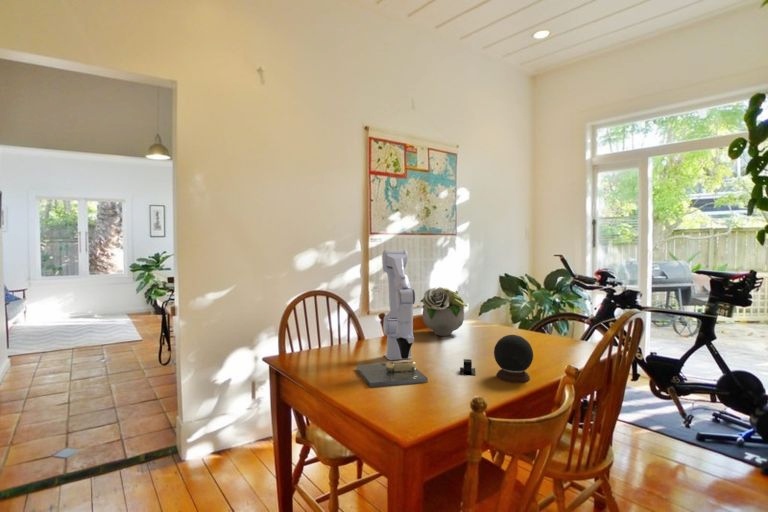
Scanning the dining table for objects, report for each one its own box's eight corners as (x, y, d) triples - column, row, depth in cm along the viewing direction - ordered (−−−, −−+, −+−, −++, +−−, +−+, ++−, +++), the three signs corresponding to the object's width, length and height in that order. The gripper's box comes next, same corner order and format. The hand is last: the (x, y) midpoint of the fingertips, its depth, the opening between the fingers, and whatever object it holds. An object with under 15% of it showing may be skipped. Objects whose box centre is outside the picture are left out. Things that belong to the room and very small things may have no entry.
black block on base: (477, 379, 146) (477, 366, 146) (456, 377, 147) (456, 364, 147) (476, 368, 158) (476, 356, 158) (457, 367, 159) (457, 355, 159)
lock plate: (407, 365, 160) (407, 361, 160) (427, 382, 140) (427, 377, 140) (356, 369, 154) (356, 365, 154) (370, 387, 135) (370, 382, 135)
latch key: (387, 371, 145) (387, 364, 145) (385, 369, 148) (385, 362, 148) (416, 370, 147) (416, 363, 147) (414, 367, 150) (414, 361, 150)
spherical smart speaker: (539, 383, 140) (540, 339, 140) (501, 384, 139) (502, 339, 139) (523, 371, 153) (524, 331, 153) (488, 372, 152) (489, 331, 152)
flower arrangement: (417, 338, 204) (417, 289, 204) (421, 328, 229) (421, 284, 228) (468, 341, 200) (469, 290, 200) (466, 330, 225) (467, 285, 224)
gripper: (388, 318, 159) (388, 353, 160) (400, 325, 145) (400, 364, 146) (406, 317, 161) (405, 352, 162) (419, 324, 147) (419, 362, 148)
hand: (404, 358), depth 154 cm, fingers closed
